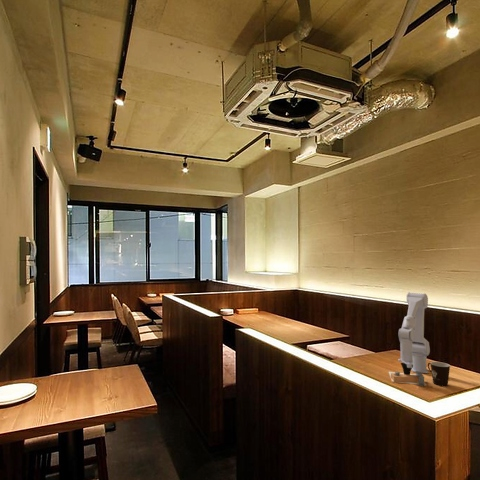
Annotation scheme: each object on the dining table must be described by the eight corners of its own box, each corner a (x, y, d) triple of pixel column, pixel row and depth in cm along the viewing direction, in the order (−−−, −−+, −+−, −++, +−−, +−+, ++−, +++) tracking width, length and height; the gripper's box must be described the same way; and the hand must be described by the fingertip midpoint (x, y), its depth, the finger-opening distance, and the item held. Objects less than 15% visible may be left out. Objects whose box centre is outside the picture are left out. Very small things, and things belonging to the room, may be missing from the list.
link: (393, 381, 175) (393, 376, 175) (390, 377, 180) (390, 373, 181) (424, 382, 173) (424, 378, 173) (420, 379, 178) (420, 374, 179)
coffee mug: (453, 388, 168) (452, 367, 168) (434, 386, 169) (433, 366, 170) (444, 379, 179) (443, 360, 180) (426, 378, 181) (426, 359, 181)
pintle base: (388, 371, 191) (388, 364, 191) (420, 375, 186) (420, 367, 186) (391, 381, 176) (391, 373, 176) (426, 385, 171) (426, 377, 171)
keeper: (415, 379, 179) (415, 371, 179) (420, 380, 178) (420, 371, 178) (419, 385, 170) (418, 376, 171) (424, 386, 170) (424, 377, 170)
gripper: (395, 347, 188) (396, 372, 187) (400, 354, 174) (401, 381, 173) (409, 348, 186) (410, 373, 185) (415, 355, 172) (416, 383, 171)
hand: (406, 377), depth 179 cm, fingers closed, pressing on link
